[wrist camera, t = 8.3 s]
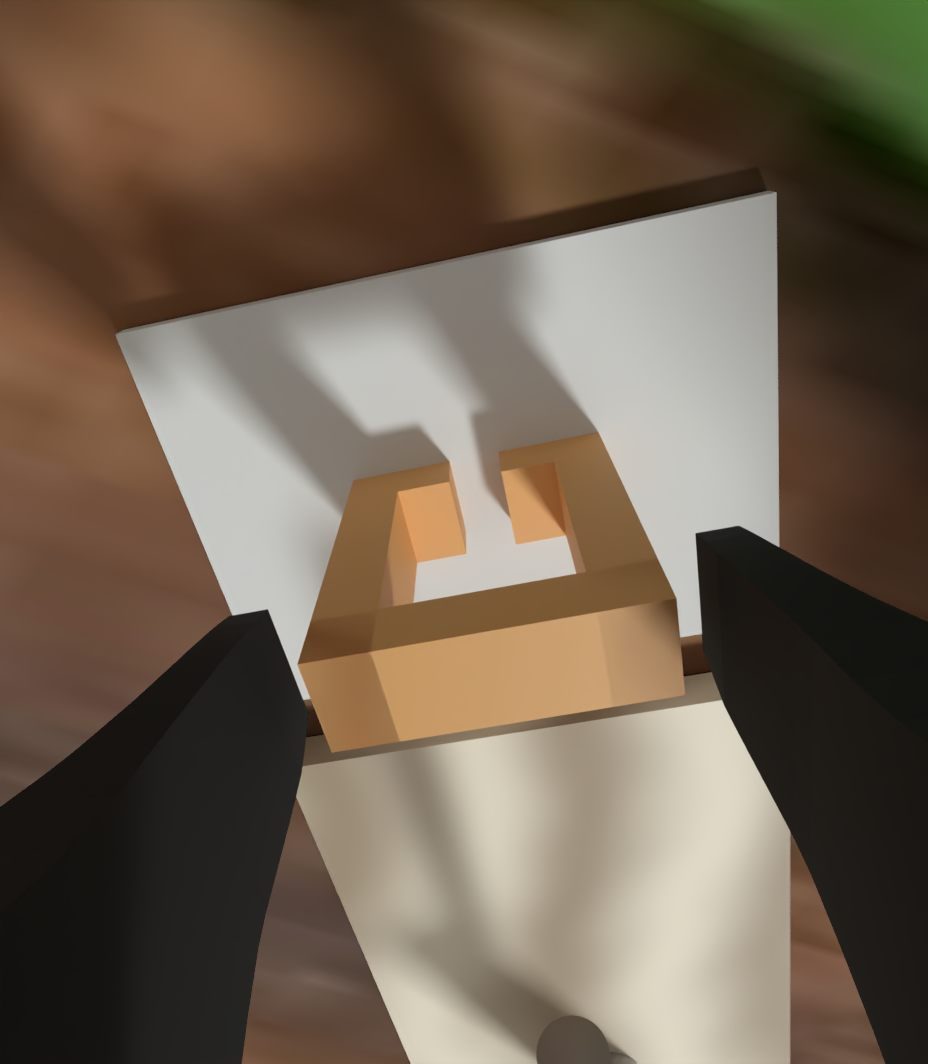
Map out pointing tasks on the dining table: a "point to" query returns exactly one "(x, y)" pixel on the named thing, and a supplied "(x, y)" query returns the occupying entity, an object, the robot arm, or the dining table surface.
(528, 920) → the hook stand
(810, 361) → the dining table surface
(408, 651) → the c link
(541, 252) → the grey mat
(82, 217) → the dining table surface
